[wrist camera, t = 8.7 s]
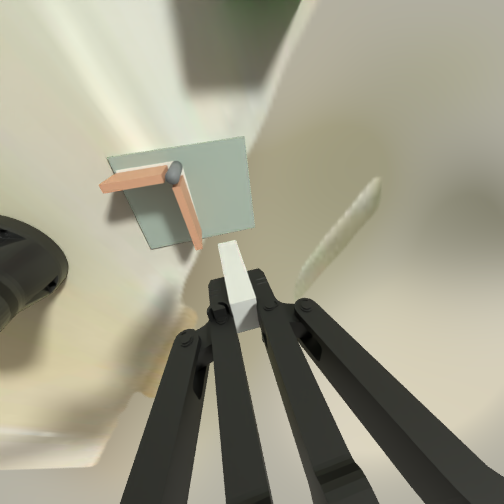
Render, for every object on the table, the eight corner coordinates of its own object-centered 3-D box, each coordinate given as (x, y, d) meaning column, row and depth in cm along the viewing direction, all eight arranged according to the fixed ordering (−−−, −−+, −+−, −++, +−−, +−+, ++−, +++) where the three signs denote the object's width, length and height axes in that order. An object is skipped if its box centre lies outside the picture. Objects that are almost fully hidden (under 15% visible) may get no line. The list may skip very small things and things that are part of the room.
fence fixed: (121, 181, 29) (103, 197, 24) (116, 169, 29) (95, 183, 23) (184, 170, 30) (181, 183, 25) (180, 159, 30) (176, 169, 24)
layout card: (151, 247, 36) (151, 249, 36) (108, 157, 28) (106, 157, 27) (254, 226, 38) (255, 227, 38) (243, 136, 30) (244, 136, 29)
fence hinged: (176, 176, 30) (172, 187, 25) (182, 174, 30) (180, 185, 25) (196, 232, 35) (196, 250, 31) (201, 230, 36) (202, 248, 31)
